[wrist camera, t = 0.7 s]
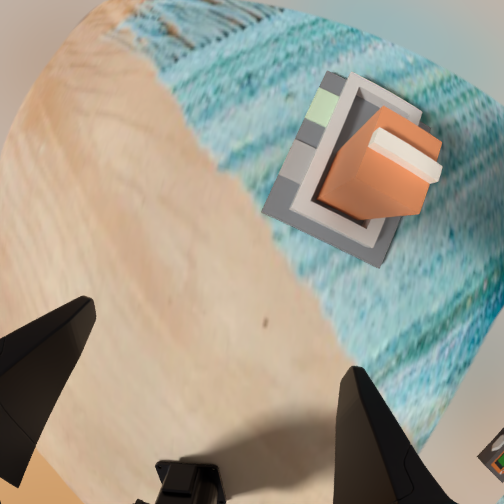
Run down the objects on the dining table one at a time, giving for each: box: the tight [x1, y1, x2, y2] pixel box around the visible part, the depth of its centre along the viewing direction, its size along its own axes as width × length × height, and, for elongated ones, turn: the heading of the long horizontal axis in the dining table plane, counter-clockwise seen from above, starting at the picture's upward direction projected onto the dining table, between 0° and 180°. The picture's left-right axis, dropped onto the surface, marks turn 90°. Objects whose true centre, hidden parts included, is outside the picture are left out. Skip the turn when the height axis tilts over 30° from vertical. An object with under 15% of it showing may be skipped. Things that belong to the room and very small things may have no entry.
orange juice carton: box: [317, 106, 443, 220], centre depth 17 cm, size 4×4×10 cm
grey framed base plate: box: [261, 71, 431, 269], centre depth 22 cm, size 13×10×2 cm
